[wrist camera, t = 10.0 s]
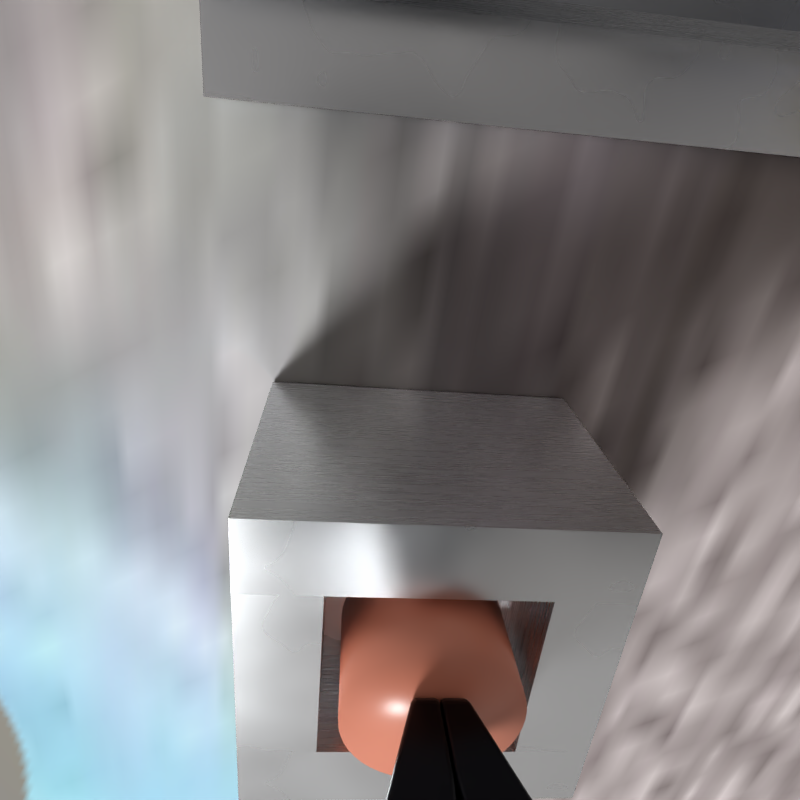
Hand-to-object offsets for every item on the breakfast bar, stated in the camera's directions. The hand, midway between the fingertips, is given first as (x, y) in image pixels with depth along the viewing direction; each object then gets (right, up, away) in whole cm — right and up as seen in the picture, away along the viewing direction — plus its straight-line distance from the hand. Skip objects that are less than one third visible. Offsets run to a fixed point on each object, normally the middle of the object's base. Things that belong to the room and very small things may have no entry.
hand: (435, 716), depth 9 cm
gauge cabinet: (0, +2, +5) cm, 5 cm away
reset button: (0, +1, +2) cm, 2 cm away
